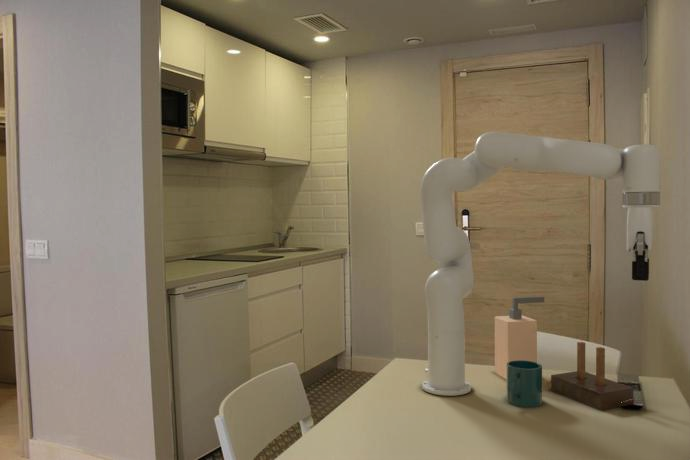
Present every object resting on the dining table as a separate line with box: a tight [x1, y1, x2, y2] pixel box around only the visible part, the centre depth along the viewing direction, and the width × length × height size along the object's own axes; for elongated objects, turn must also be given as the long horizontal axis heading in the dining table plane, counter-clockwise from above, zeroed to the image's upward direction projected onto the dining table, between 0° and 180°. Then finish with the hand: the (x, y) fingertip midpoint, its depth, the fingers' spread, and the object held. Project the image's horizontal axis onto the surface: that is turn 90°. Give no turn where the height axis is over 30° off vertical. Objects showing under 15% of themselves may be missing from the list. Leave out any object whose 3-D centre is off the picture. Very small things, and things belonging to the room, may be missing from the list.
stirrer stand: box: [550, 370, 634, 411], centre depth 143 cm, size 16×10×4 cm, turn 22°
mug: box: [506, 360, 543, 408], centre depth 139 cm, size 12×8×9 cm
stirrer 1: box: [576, 341, 586, 380], centre depth 146 cm, size 1×1×13 cm
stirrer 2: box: [595, 346, 606, 387], centre depth 140 cm, size 1×1×13 cm
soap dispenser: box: [494, 296, 545, 381], centre depth 162 cm, size 13×9×22 cm
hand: (640, 277), depth 129 cm, fingers open, 9 cm apart
